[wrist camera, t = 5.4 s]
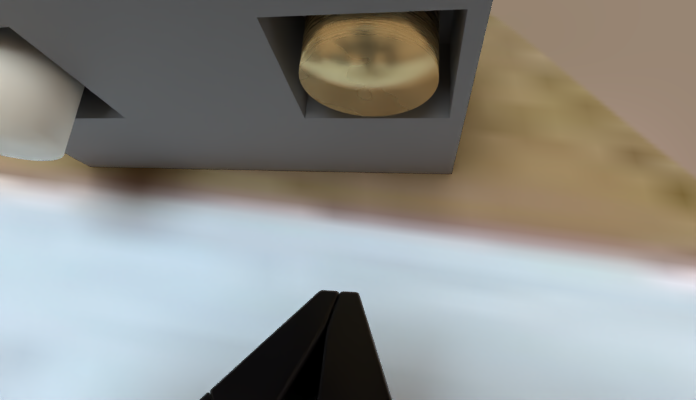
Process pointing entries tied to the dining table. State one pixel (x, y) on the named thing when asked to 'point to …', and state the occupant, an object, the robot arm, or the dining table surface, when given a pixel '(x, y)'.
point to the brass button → (371, 61)
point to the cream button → (34, 101)
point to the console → (239, 85)
